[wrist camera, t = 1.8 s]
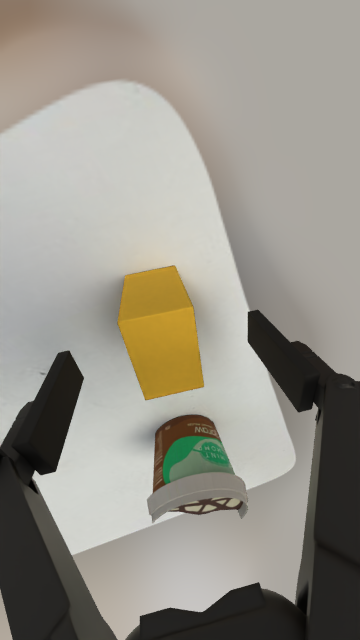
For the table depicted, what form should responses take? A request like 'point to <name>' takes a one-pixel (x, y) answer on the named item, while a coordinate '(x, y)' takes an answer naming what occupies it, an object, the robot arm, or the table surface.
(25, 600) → the robot arm
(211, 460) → the food container
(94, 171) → the table surface
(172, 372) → the yellow block
